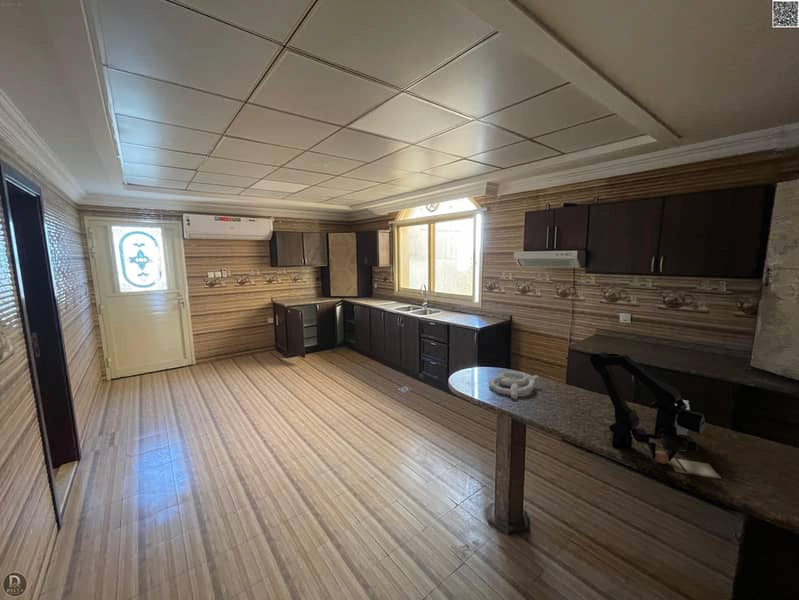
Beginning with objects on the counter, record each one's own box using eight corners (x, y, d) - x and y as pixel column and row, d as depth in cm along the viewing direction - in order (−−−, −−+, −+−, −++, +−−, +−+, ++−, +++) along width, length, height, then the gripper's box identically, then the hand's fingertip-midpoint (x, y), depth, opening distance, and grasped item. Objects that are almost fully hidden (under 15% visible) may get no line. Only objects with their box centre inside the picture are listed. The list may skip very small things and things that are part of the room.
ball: (655, 464, 122) (657, 454, 121) (651, 457, 126) (652, 447, 125) (670, 467, 121) (671, 456, 120) (665, 460, 125) (666, 449, 124)
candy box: (667, 431, 144) (671, 396, 141) (684, 436, 140) (689, 400, 138) (667, 446, 133) (671, 408, 131) (686, 451, 130) (691, 413, 127)
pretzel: (520, 405, 173) (519, 394, 172) (482, 392, 191) (481, 382, 190) (545, 384, 190) (544, 374, 189) (508, 374, 208) (507, 365, 207)
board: (675, 471, 118) (675, 469, 118) (666, 458, 126) (666, 456, 126) (720, 479, 114) (721, 477, 114) (708, 465, 121) (708, 463, 121)
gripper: (643, 427, 116) (639, 467, 119) (709, 437, 110) (703, 478, 113) (633, 413, 127) (629, 450, 129) (692, 420, 121) (687, 459, 123)
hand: (660, 459), depth 123 cm, fingers closed on ball, 4 cm apart
